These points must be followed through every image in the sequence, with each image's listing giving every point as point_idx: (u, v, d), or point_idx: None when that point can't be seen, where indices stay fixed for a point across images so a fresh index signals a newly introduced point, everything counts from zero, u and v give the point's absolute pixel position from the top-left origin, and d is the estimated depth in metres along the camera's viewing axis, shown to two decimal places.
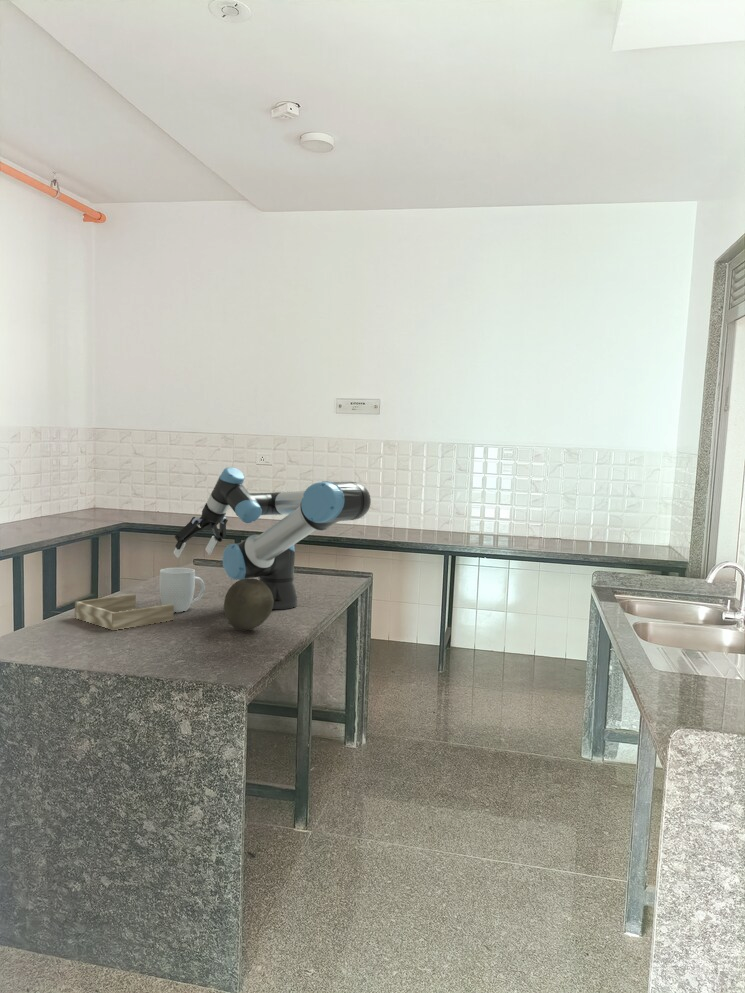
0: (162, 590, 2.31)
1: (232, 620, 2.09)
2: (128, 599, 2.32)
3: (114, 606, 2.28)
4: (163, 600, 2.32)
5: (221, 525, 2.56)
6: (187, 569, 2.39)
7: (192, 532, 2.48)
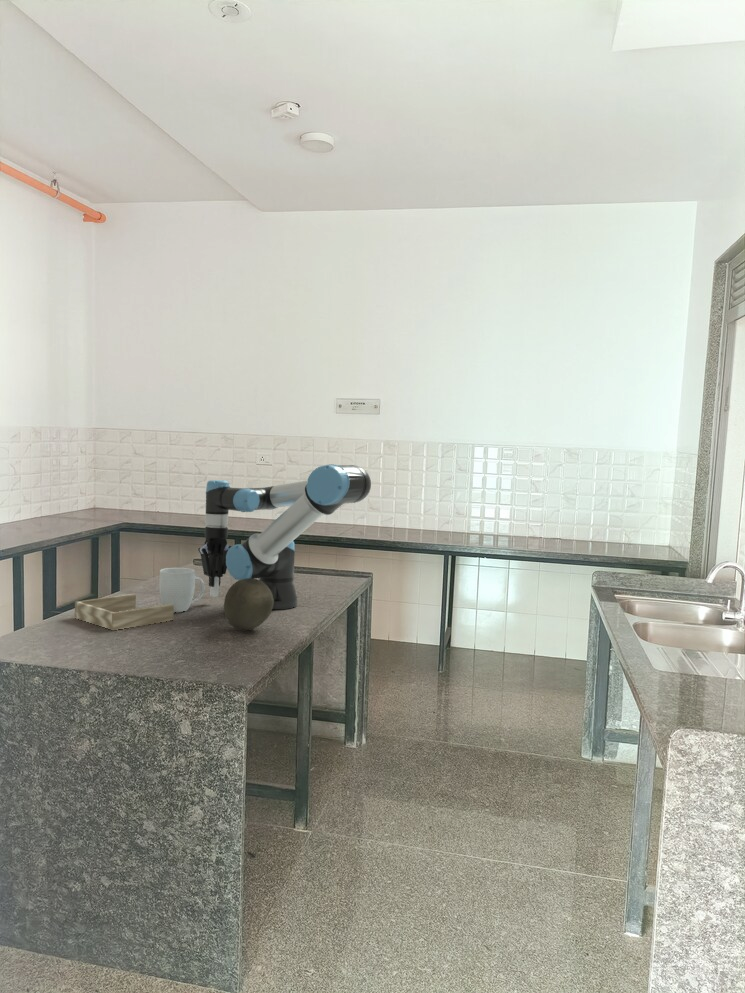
0: (162, 590, 2.31)
1: (232, 620, 2.09)
2: (128, 599, 2.32)
3: (114, 606, 2.28)
4: (163, 600, 2.32)
5: (224, 554, 2.49)
6: (187, 569, 2.39)
7: (212, 562, 2.44)
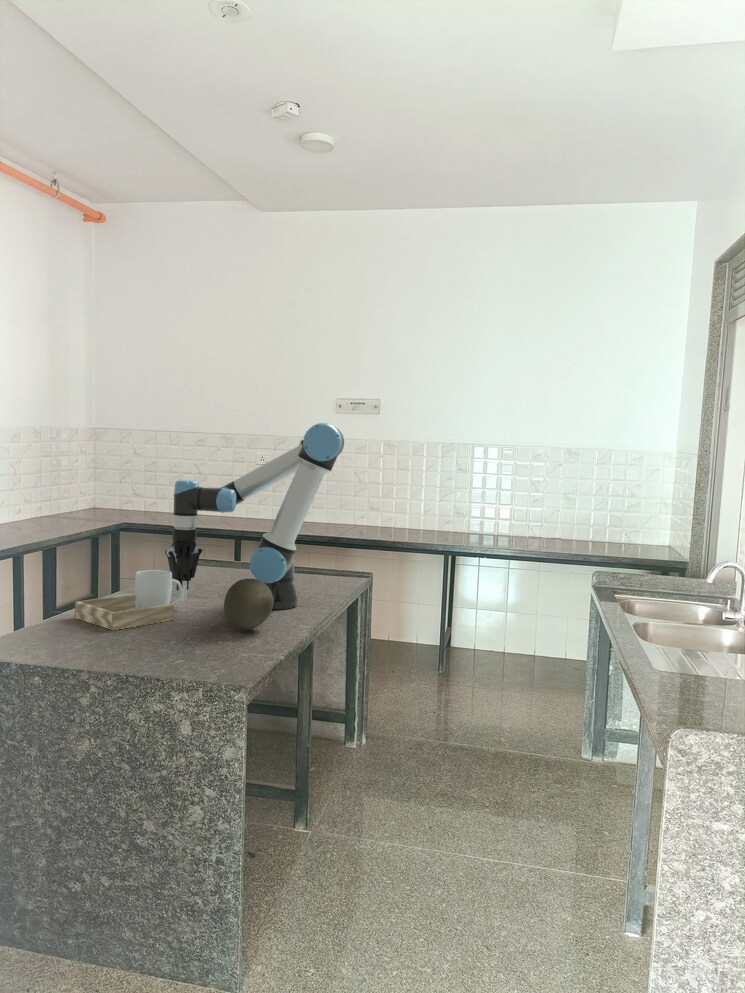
0: (138, 593, 2.24)
1: (232, 620, 2.09)
2: (128, 599, 2.32)
3: (114, 606, 2.28)
4: (139, 603, 2.25)
5: (193, 557, 2.39)
6: (164, 571, 2.33)
7: (179, 566, 2.35)
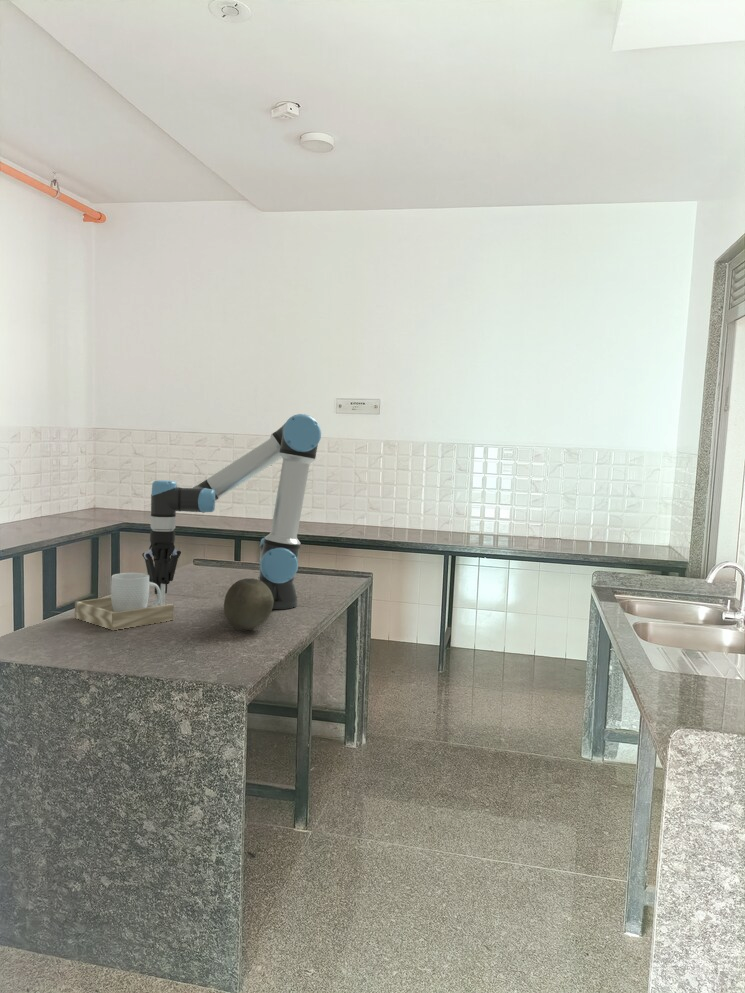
0: (113, 597, 2.18)
1: (232, 620, 2.09)
2: None
3: None
4: (114, 607, 2.19)
5: (172, 560, 2.33)
6: (142, 574, 2.26)
7: (157, 568, 2.28)
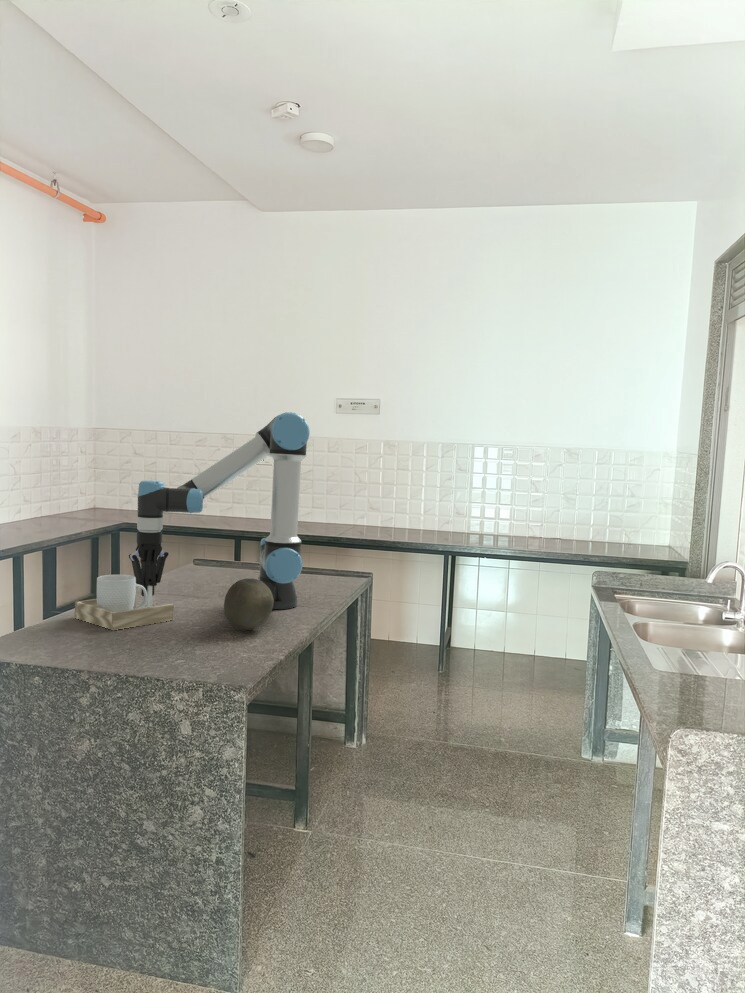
0: (98, 599, 2.14)
1: (232, 620, 2.09)
2: None
3: None
4: None
5: (159, 561, 2.29)
6: (129, 576, 2.22)
7: (144, 570, 2.24)
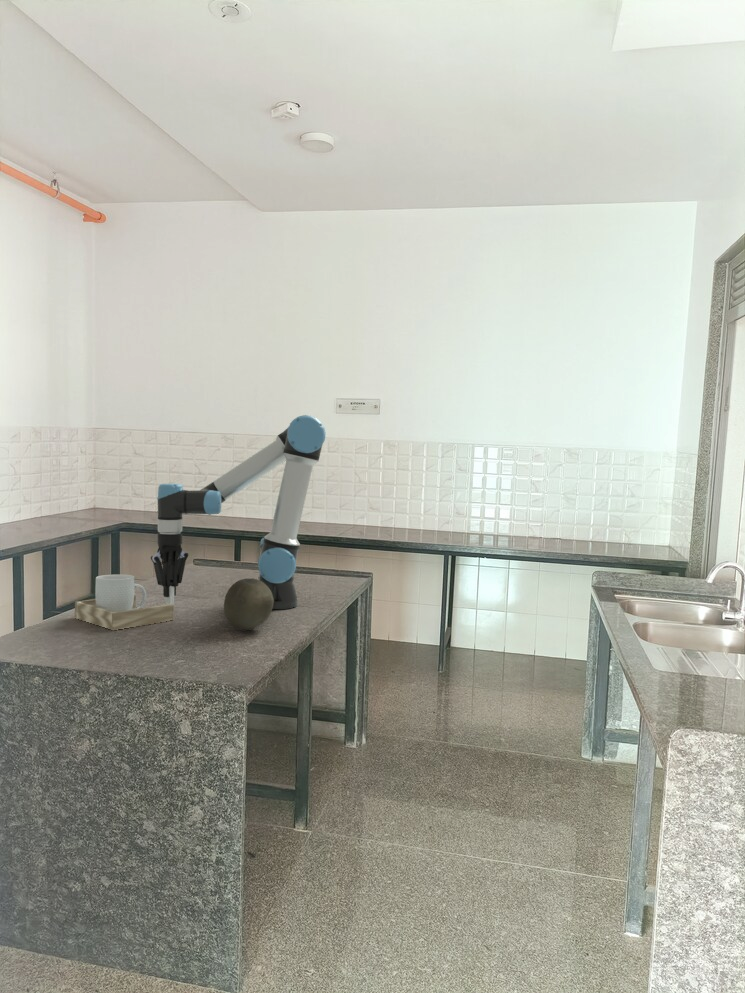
0: (97, 598, 2.14)
1: (232, 620, 2.09)
2: None
3: None
4: None
5: (180, 562, 2.34)
6: (127, 576, 2.23)
7: (166, 571, 2.30)
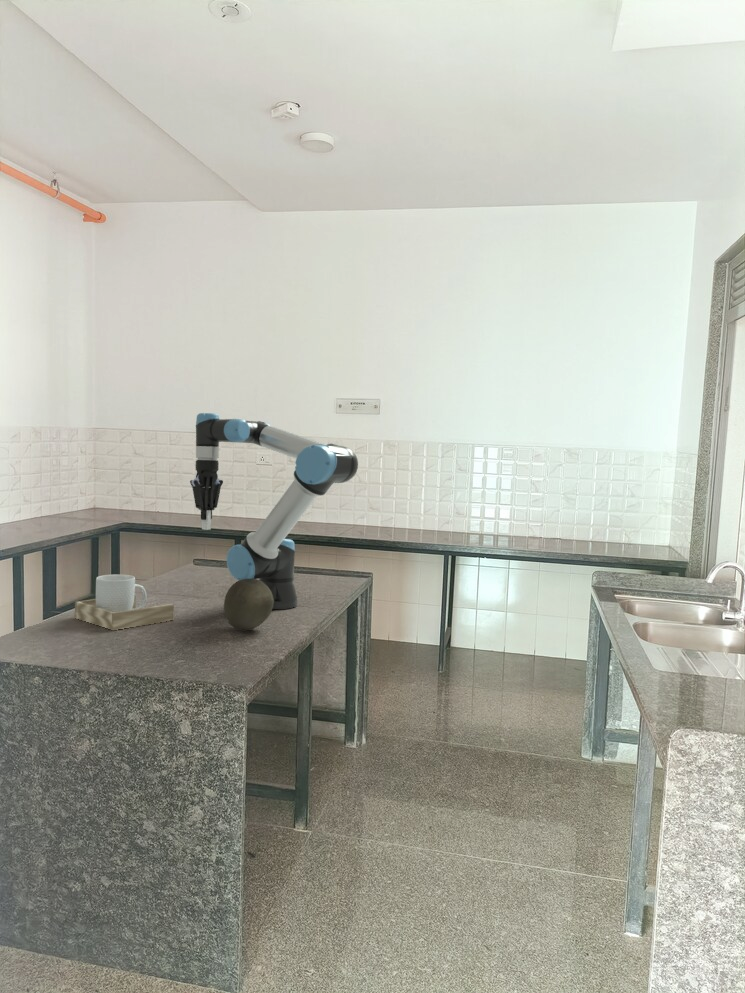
0: (98, 599, 2.14)
1: (232, 620, 2.09)
2: None
3: None
4: None
5: (215, 488, 2.50)
6: (128, 576, 2.22)
7: (203, 495, 2.45)
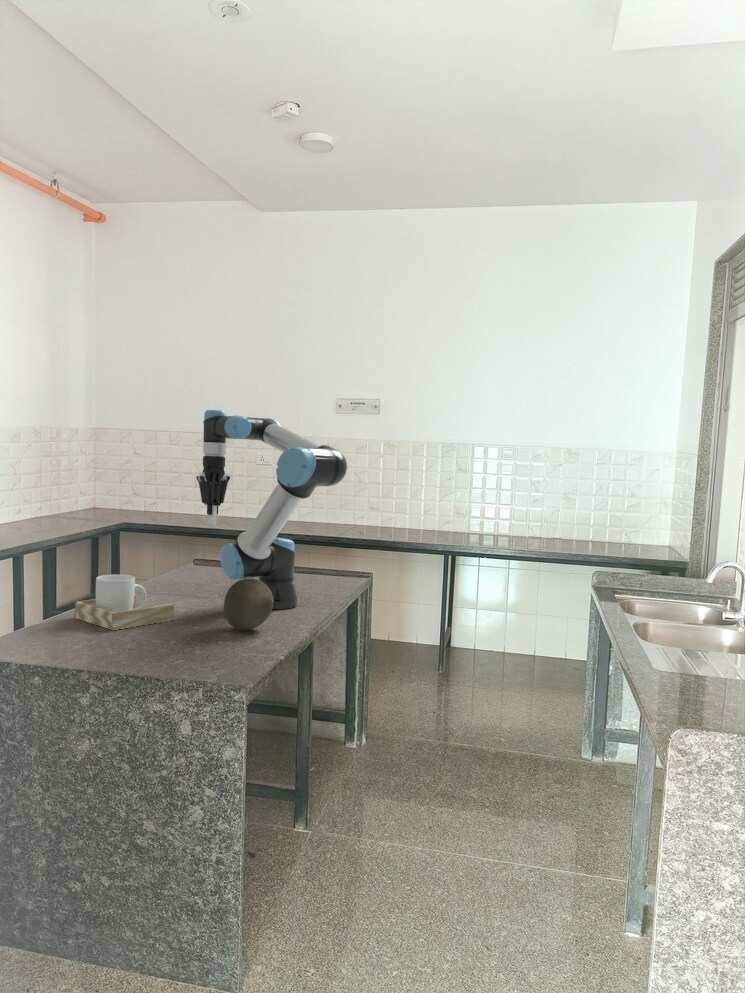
0: (98, 599, 2.14)
1: (232, 620, 2.09)
2: None
3: None
4: None
5: (222, 484, 2.54)
6: (128, 576, 2.22)
7: (209, 491, 2.49)
